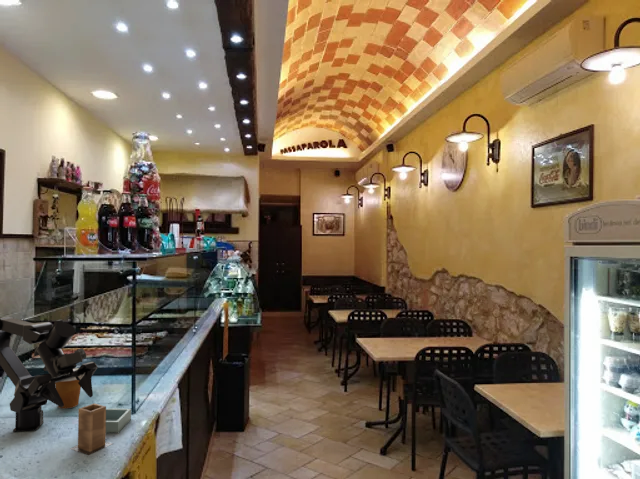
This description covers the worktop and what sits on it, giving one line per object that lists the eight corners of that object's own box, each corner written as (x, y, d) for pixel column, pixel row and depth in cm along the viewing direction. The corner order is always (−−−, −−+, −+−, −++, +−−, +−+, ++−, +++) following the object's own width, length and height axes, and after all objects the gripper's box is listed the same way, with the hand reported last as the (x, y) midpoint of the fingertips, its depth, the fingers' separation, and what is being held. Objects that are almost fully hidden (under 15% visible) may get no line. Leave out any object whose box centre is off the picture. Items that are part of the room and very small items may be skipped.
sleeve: (77, 447, 131) (78, 408, 131) (93, 440, 135) (94, 403, 135) (89, 451, 129) (90, 412, 128) (105, 444, 133) (106, 406, 133)
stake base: (69, 450, 130) (69, 434, 130) (94, 439, 137) (94, 424, 137) (88, 457, 127) (88, 440, 127) (113, 445, 134) (113, 429, 134)
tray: (82, 434, 140) (82, 421, 140) (97, 420, 151) (98, 408, 151) (118, 435, 141) (118, 422, 141) (130, 421, 151) (131, 408, 151)
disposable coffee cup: (62, 412, 157) (62, 377, 157) (47, 406, 162) (47, 372, 162) (89, 404, 165) (89, 370, 165) (73, 398, 170) (74, 366, 170)
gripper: (35, 348, 128) (60, 394, 124) (94, 335, 145) (118, 376, 140) (17, 372, 132) (41, 418, 127) (77, 357, 149) (100, 397, 144)
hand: (77, 401), depth 135 cm, fingers open, 9 cm apart
